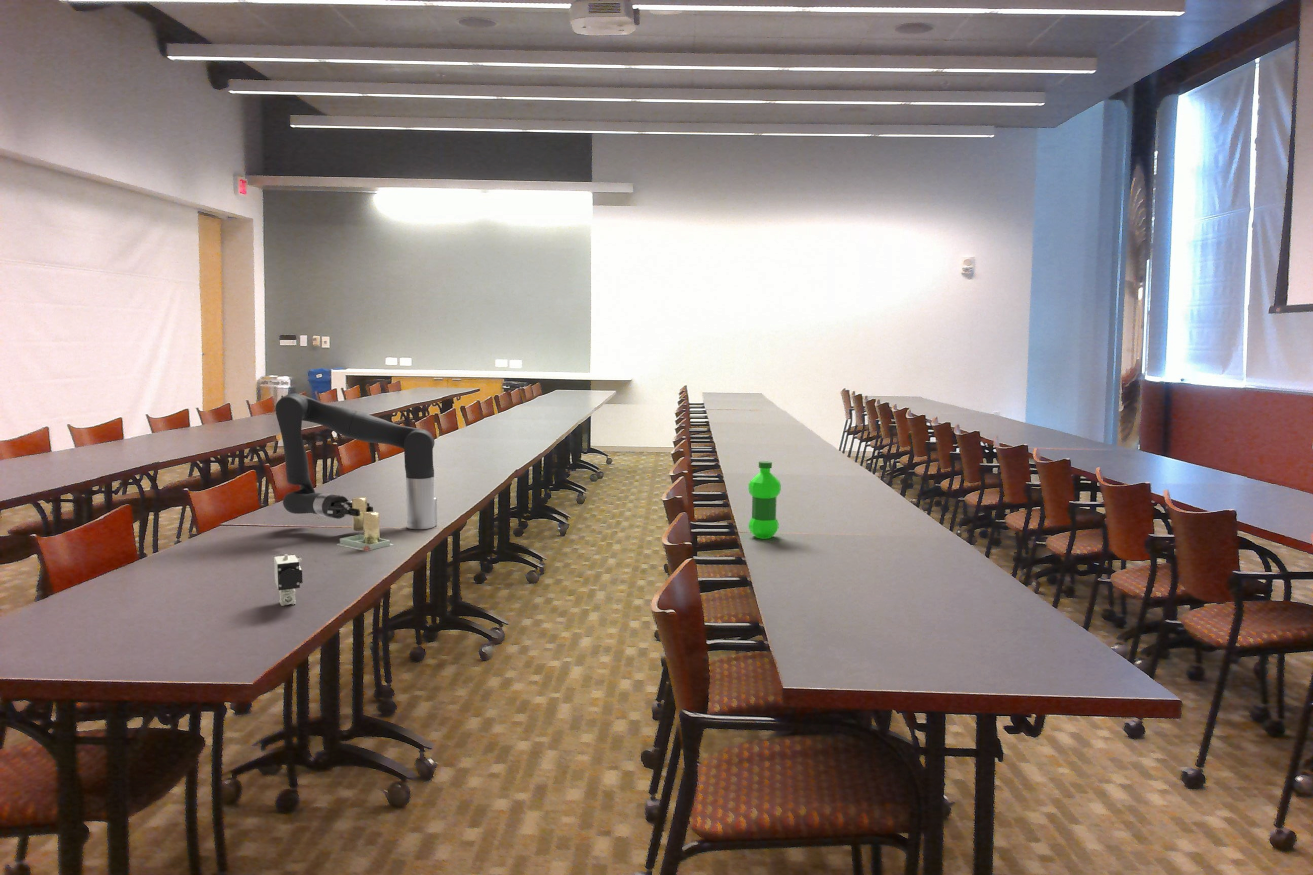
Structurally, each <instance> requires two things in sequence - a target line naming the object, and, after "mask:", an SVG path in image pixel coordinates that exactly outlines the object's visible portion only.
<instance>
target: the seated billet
mask: <svg viewBox="0 0 1313 875" xmlns="http://www.w3.org/2000/svg"><path fill="white" fill-rule="evenodd" d="M363 521H364V531H363V535H364V543H366V544H374V543H378V542H380V538H381V537H380V534H381V533H380V531H381V530H380V512H379V511H373V512H366V513H363Z"/></svg>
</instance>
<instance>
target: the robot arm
mask: <svg viewBox="0 0 1313 875" xmlns="http://www.w3.org/2000/svg"><path fill="white" fill-rule="evenodd" d="M274 409H275V416H276V419H277V422H278V423H277V424H278V426H279V430H280V433H281V434H280V435H281V439H282V443H283V452H284V462H285V463H284V464H285V472H286V480H287V483H288V484H289V485H292V486H293V485H294V486H297V485H298V486H299V489H297V490H295V491H294V490H293V491H291V492H288V493H286V494H285V495H284V497H283V499H282V505H283V507H284V509H285V511H287V512H289V513H290V514H296V515H298V514H313V515H319V516H321V517H325V518H331V519H336V520H339V519H343V518H345V517H346V516H347V517H351V516H352V517H353V516H360V510H359V509H354V508H352V500H348V498H347V497H346V496H344V495H340V494H333V493H323V492H321V493H320V492H316V491H315V488H314V486H313V483H312V480H311V477H310V467H309V459H308V458H309V457H308V453H307V451H306V448H305V444H304V442H303V434H302V427H303V426H302V424H303V422H308V423H314V424H317V425H321V426H324V427H325V428H327V429H329V430H331V431H333V432H334V433H336V434H338V435H341V436H343V437H346V438H348V439H352V440H357V441H361V442H365V443H371V444H372V443H374V444H382V445H383V444H384V445H390V446H392V447H393V446H394V447H396V448H400V449H403V450H404V451H403V452H404V453H403V454H404V471H405V487H406V488H405V489H406V490H405V494H406V495H405V496H406V528H407V529H411V530H426V529H427V530H429V529H432V528H435V526H438V503H437V501H438V499H437V497H435V469H434V468H435V467H434V456H433V454H434V453H433V452H434V451H433V450H434V448H435V437H434V436H433V435H432V433H431V432H430V431H428V430H427V429H424V428H419V427H418V428H416V427H411V426H406V425H400V424H398V423H393V422H390V421H388V420H385V419H383V418H380V417H377V416H373V415H371V414H367V413H364V412H361V411H357V410H354V409H349V408H345V407H341V406H336V405H331V404H328V403H324V402H321V401H319V400H316V399H314V398H312V397H308V396H307V395H303V394H301V393H297V392H296V393H295V392H293V393H288V394H286V395H283V397H280V398H279V399H278V400H277V401H276V404H275V407H274ZM367 512H374V507H373V506H370V503H369V502H367Z"/></svg>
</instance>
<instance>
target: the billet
mask: <svg viewBox="0 0 1313 875" xmlns="http://www.w3.org/2000/svg"><path fill="white" fill-rule="evenodd" d="M351 501H352V508H354V509H359V510H360V516H352V530H353V531H354V532H355V531H356V532H364V521H363V513H366V512H367V503H368V498H367V497H366V496H357V497H352V498H351Z"/></svg>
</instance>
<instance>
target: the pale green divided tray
mask: <svg viewBox="0 0 1313 875" xmlns="http://www.w3.org/2000/svg"><path fill="white" fill-rule="evenodd" d="M336 545H337V546H341V547H347V548H351V549H355V550H360V551H363V552H364V551H365V552H368V551H372V550H377V549H380V548H386V547H389V546H393V545H394V543H391V540H390V539H385V538H381V537H380V542H378V543H374V544H366V543H364V534H356V535H351V536H345V537H341V538H339V543H337V544H336Z"/></svg>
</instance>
